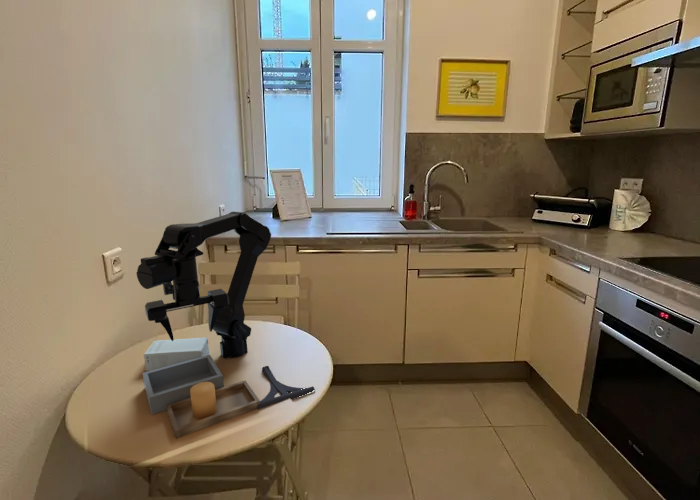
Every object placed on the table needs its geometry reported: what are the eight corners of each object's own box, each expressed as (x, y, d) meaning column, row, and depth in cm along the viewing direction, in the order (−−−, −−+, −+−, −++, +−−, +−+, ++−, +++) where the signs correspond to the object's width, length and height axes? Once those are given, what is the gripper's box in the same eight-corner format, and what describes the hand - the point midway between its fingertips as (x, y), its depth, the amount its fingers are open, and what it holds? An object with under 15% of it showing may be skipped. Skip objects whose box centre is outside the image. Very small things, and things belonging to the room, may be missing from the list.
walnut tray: (246, 389, 99) (245, 380, 99) (260, 410, 91) (260, 401, 91) (167, 415, 90) (166, 405, 89) (176, 441, 82) (174, 431, 81)
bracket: (289, 367, 110) (289, 358, 110) (314, 394, 98) (315, 384, 98) (237, 381, 103) (237, 371, 102) (258, 412, 90) (258, 401, 90)
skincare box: (145, 373, 107) (202, 371, 108) (142, 353, 105) (201, 351, 106) (157, 357, 115) (210, 355, 116) (154, 338, 113) (209, 336, 114)
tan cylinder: (213, 402, 93) (211, 379, 91) (219, 414, 89) (217, 390, 87) (190, 410, 90) (187, 386, 88) (195, 422, 86) (192, 397, 84)
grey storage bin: (211, 371, 107) (209, 354, 106) (224, 393, 98) (222, 375, 96) (145, 391, 99) (142, 372, 98) (152, 417, 89) (149, 397, 88)
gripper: (215, 262, 109) (220, 316, 113) (138, 274, 99) (146, 332, 103) (227, 273, 100) (232, 330, 104) (144, 287, 90) (153, 350, 94)
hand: (191, 335), depth 101 cm, fingers open, 9 cm apart
